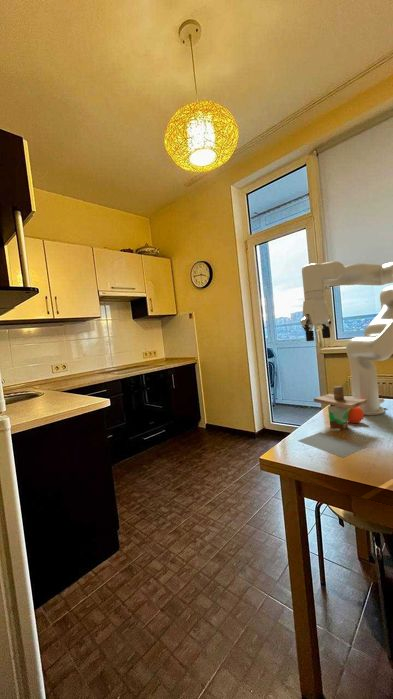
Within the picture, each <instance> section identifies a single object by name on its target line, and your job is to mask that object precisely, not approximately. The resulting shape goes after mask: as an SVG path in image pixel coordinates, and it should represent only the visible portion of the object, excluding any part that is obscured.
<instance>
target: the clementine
mask: <svg viewBox="0 0 393 699" xmlns="http://www.w3.org/2000/svg"><path fill="white" fill-rule="evenodd" d="M363 419H364V415H363V411H362V409H361V408H360V407H355V408H352V409H348V410H347V423H351V424H358V423H360V422H361V421H362V420H363Z"/></svg>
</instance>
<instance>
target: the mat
mask: <svg viewBox="0 0 393 699" xmlns="http://www.w3.org/2000/svg"><path fill="white" fill-rule="evenodd" d="M297 441H298V442H299V443H303V444H305V445H308V446H310V447H314V448H316V449H318V450H320V451H323V452H327V453H330V454H331V455H335V456H336V457H339V458H343V459H344V458H345V457H348V456H350V455H352V454H354V453H356V452H360V451H361V450H363V449H365V448H367V446H364V445H362V444H358V443H356V442H352V441H349V440H346V439H343V438H339V437H337V436H332V435H330V434H326V433H323V432H317V433H315V434H312V435H309V436H306V437H304V438H301V439H298V440H297Z"/></svg>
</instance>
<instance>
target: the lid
mask: <svg viewBox="0 0 393 699" xmlns="http://www.w3.org/2000/svg"><path fill="white" fill-rule="evenodd" d="M332 389H333V393H327V394H324V395H320V396H317V397H315V398H314V397H313V402H315V403H319V404H325V405H329V406H330V405H334V406H339V407H344V408H349V409H352V408H355V407H358V406H360V405H363V404H366V403H367V400H365V399H359V398H353V396H346V395H344V394H345V393H344V386H342V385H335V386H333V387H332Z"/></svg>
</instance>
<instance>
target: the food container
mask: <svg viewBox="0 0 393 699" xmlns="http://www.w3.org/2000/svg"><path fill="white" fill-rule="evenodd" d="M327 408H328V409H327V410H328V412H327V413H328V418H329V419H328V420H329V425H330V426H329V428H330V431H331V432H340V431H344V430H346V429H348V425H349V424H348V421H347V410H348V409H349V408H344V407H339V406H334V405H329V406H328V407H327Z"/></svg>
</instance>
